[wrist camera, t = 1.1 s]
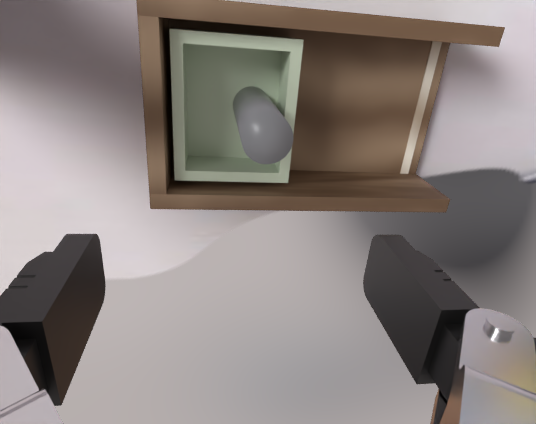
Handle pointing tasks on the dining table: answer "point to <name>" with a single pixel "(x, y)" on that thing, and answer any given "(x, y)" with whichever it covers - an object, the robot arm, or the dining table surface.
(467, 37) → the bay
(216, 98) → the box
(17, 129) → the dining table surface
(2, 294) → the robot arm
